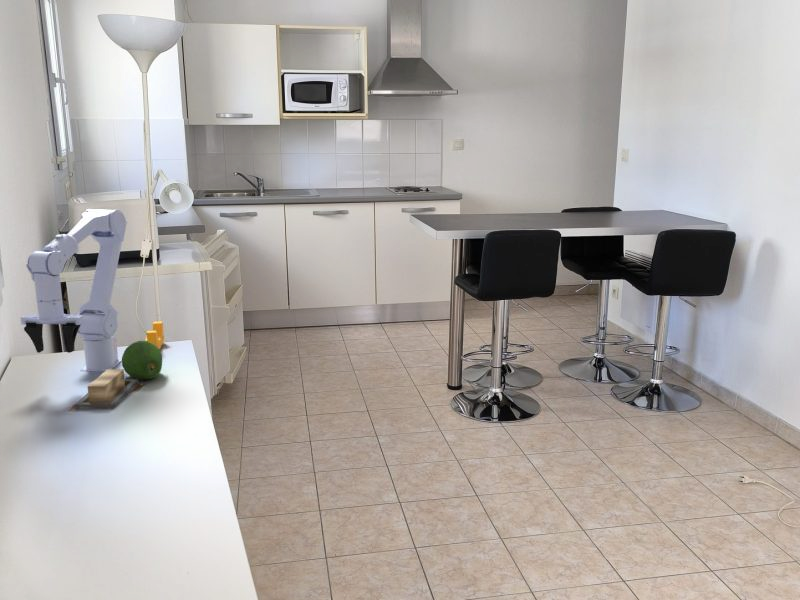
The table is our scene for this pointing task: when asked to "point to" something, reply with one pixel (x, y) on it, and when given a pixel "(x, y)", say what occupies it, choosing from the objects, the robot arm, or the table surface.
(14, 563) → the table surface
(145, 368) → the fruit
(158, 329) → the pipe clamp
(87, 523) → the table surface
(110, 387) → the wooden block
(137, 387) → the channel
